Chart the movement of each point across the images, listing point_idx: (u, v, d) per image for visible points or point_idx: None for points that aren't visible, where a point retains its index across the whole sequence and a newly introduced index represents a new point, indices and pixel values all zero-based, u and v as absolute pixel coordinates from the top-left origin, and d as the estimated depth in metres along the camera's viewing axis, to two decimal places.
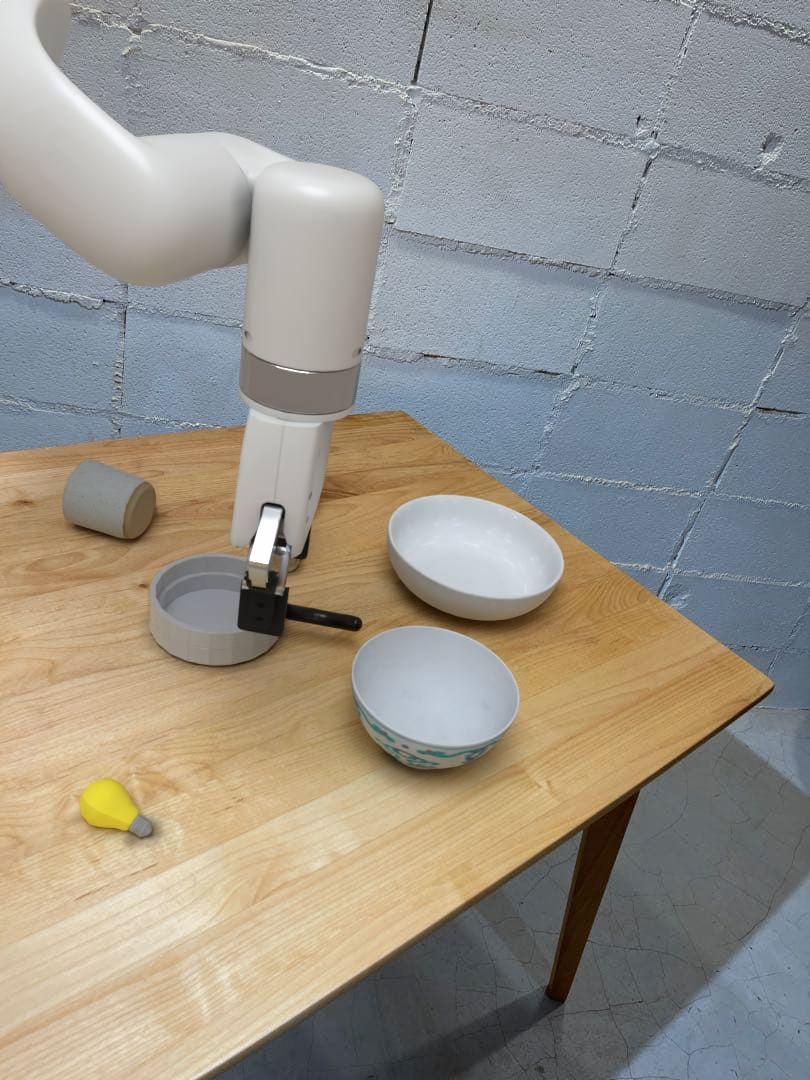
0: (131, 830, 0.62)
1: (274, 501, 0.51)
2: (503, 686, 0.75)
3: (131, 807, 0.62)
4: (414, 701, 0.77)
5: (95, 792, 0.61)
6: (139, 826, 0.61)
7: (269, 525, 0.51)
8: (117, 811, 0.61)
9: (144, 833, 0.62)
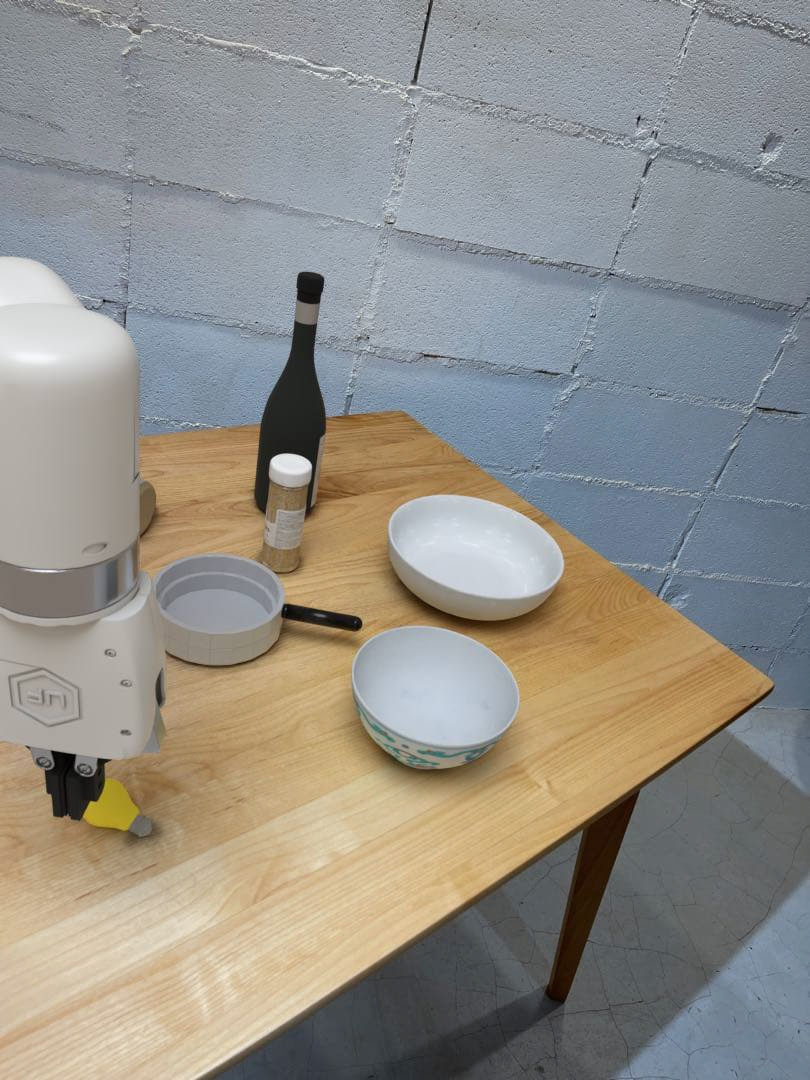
0: (131, 830, 0.62)
1: (159, 671, 0.45)
2: (503, 686, 0.75)
3: (131, 807, 0.62)
4: (414, 701, 0.77)
5: None
6: (139, 825, 0.61)
7: None
8: (117, 811, 0.61)
9: (144, 833, 0.62)
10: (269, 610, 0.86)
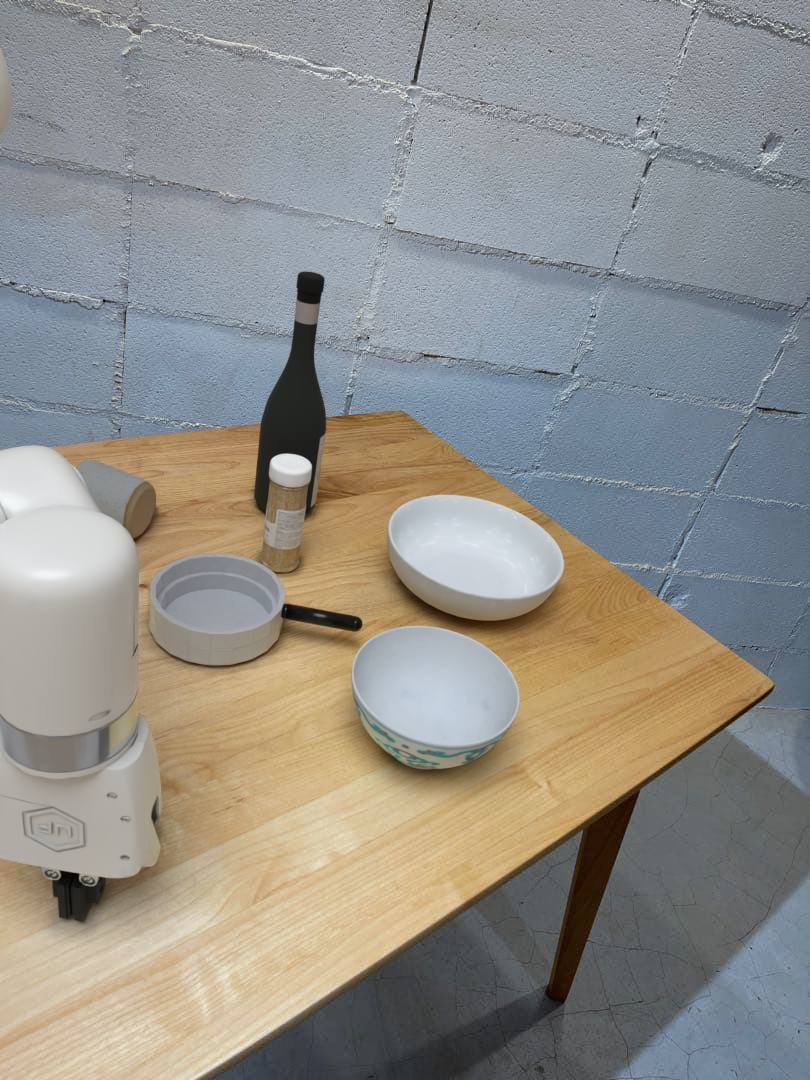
0: None
1: (154, 800, 0.51)
2: (503, 686, 0.75)
3: None
4: (414, 701, 0.77)
5: None
6: None
7: None
8: None
9: None
10: (269, 610, 0.86)
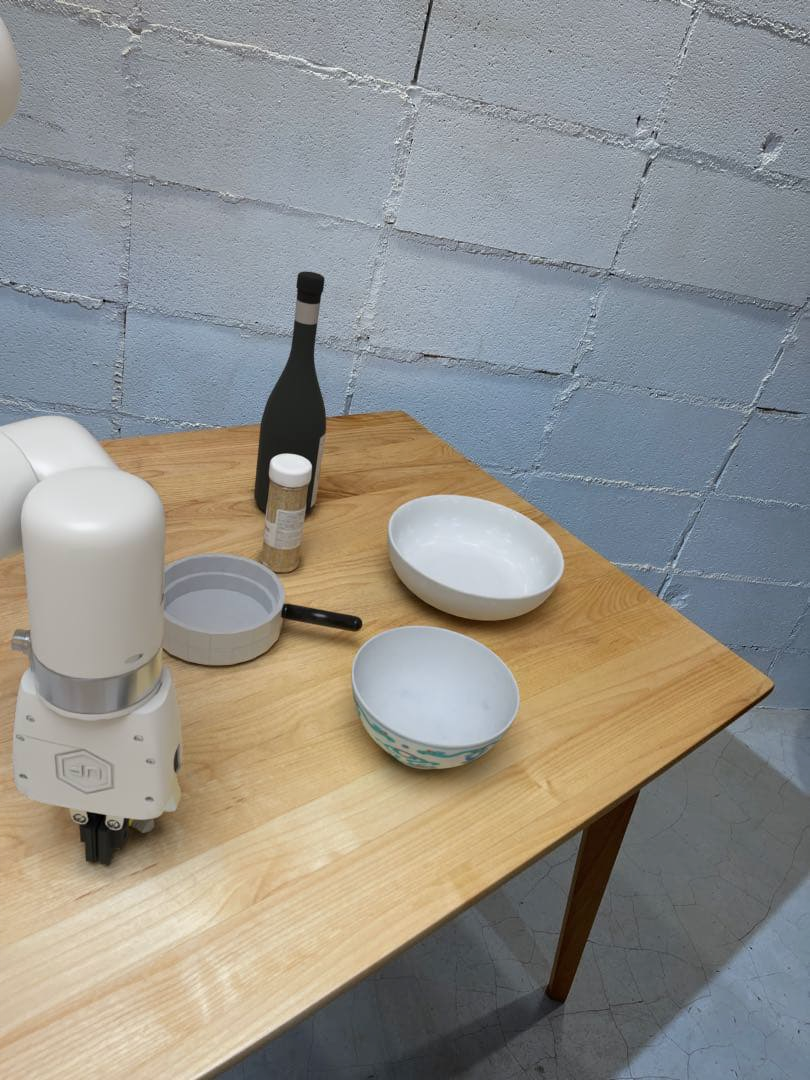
0: (133, 826, 0.62)
1: (176, 747, 0.54)
2: (503, 686, 0.75)
3: None
4: (414, 701, 0.77)
5: None
6: (141, 821, 0.62)
7: None
8: None
9: (146, 829, 0.62)
10: (269, 610, 0.86)
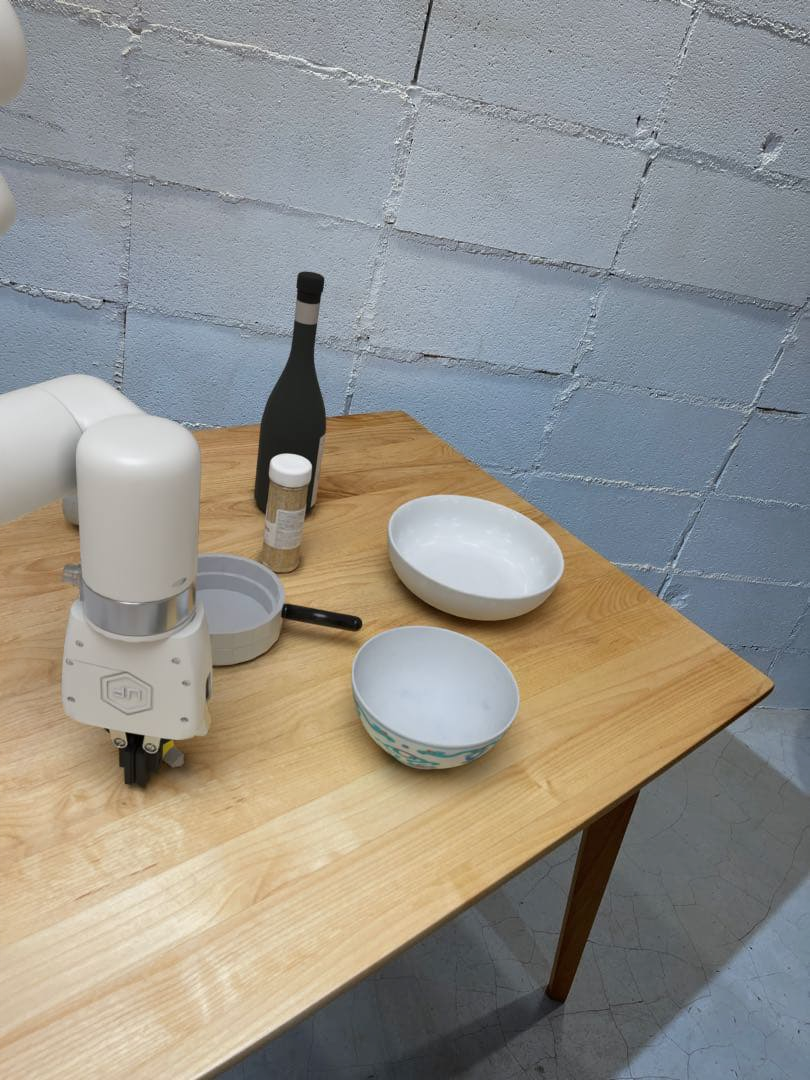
0: (165, 760, 0.68)
1: (208, 674, 0.60)
2: (503, 686, 0.75)
3: None
4: (414, 701, 0.77)
5: None
6: (172, 756, 0.67)
7: None
8: None
9: (176, 764, 0.67)
10: (269, 610, 0.86)
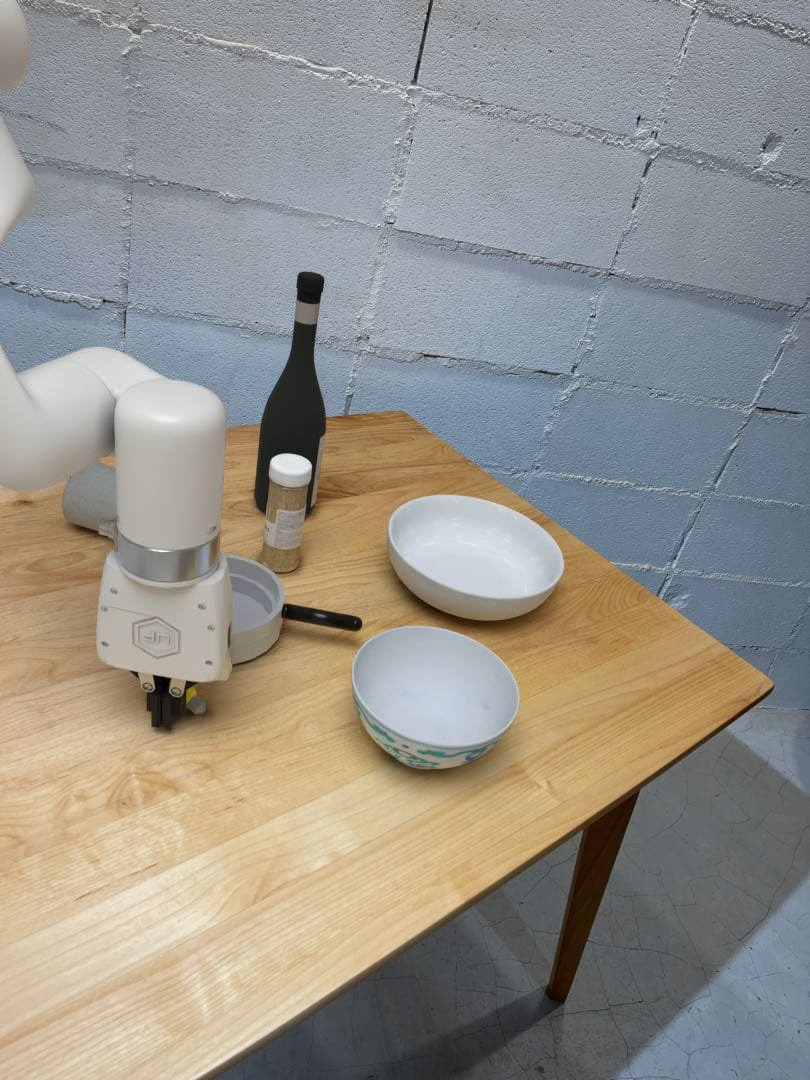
0: (188, 707, 0.73)
1: (230, 621, 0.65)
2: (503, 686, 0.75)
3: (190, 688, 0.73)
4: (414, 701, 0.77)
5: None
6: (194, 704, 0.73)
7: None
8: None
9: (198, 711, 0.73)
10: (269, 610, 0.86)
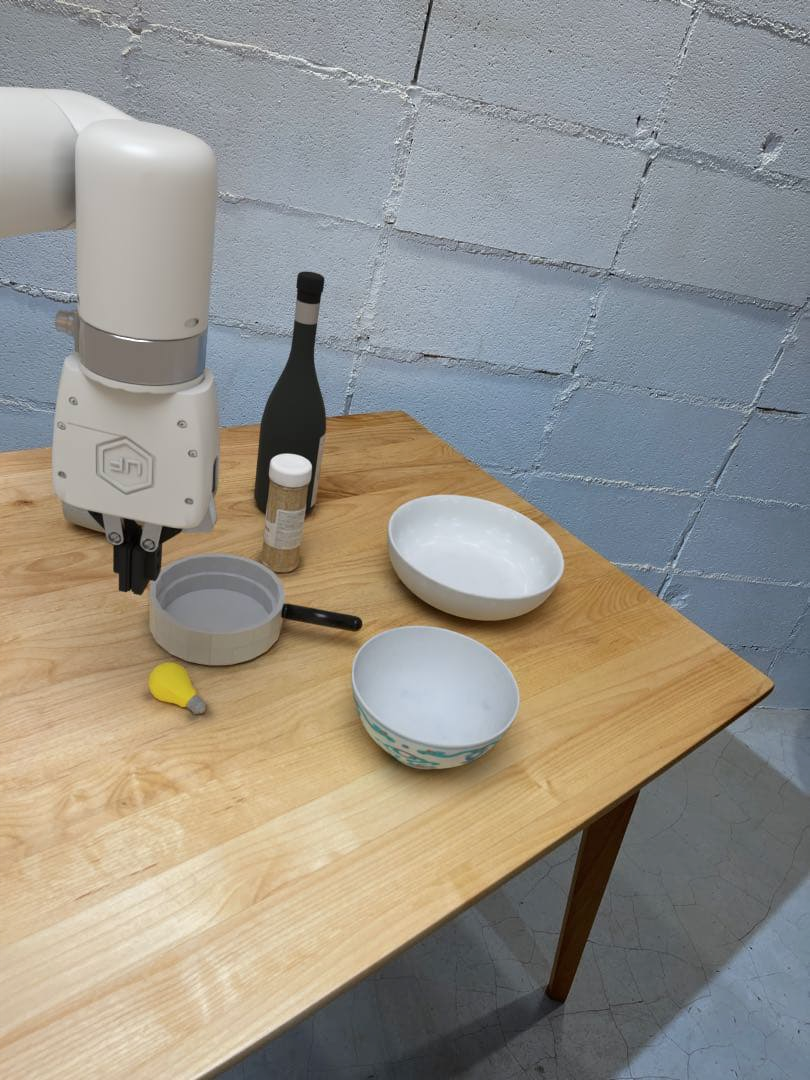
0: (188, 707, 0.73)
1: (216, 455, 0.54)
2: (503, 686, 0.75)
3: (190, 688, 0.73)
4: (414, 701, 0.77)
5: (162, 670, 0.73)
6: (194, 703, 0.73)
7: None
8: (178, 689, 0.72)
9: (198, 710, 0.73)
10: (269, 610, 0.86)
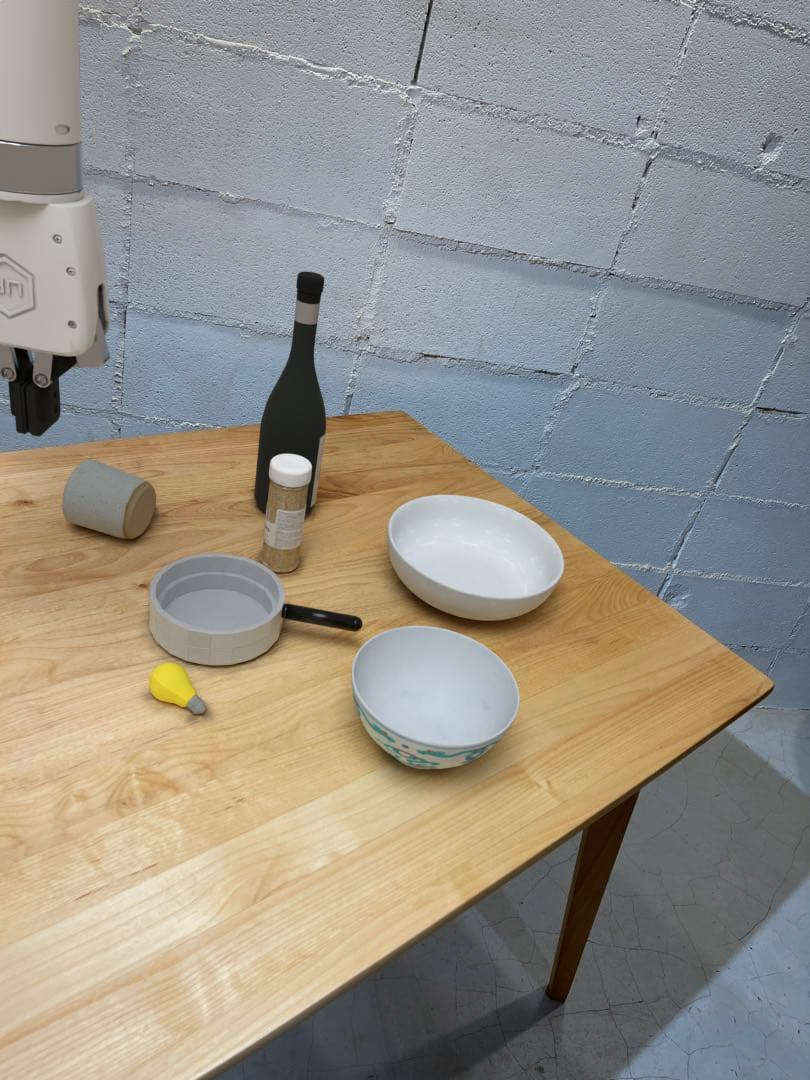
0: (188, 707, 0.73)
1: (100, 282, 0.55)
2: (503, 686, 0.75)
3: (190, 688, 0.73)
4: (414, 701, 0.77)
5: (162, 670, 0.73)
6: (194, 703, 0.73)
7: (97, 322, 0.56)
8: (178, 689, 0.72)
9: (198, 710, 0.73)
10: (269, 610, 0.86)
